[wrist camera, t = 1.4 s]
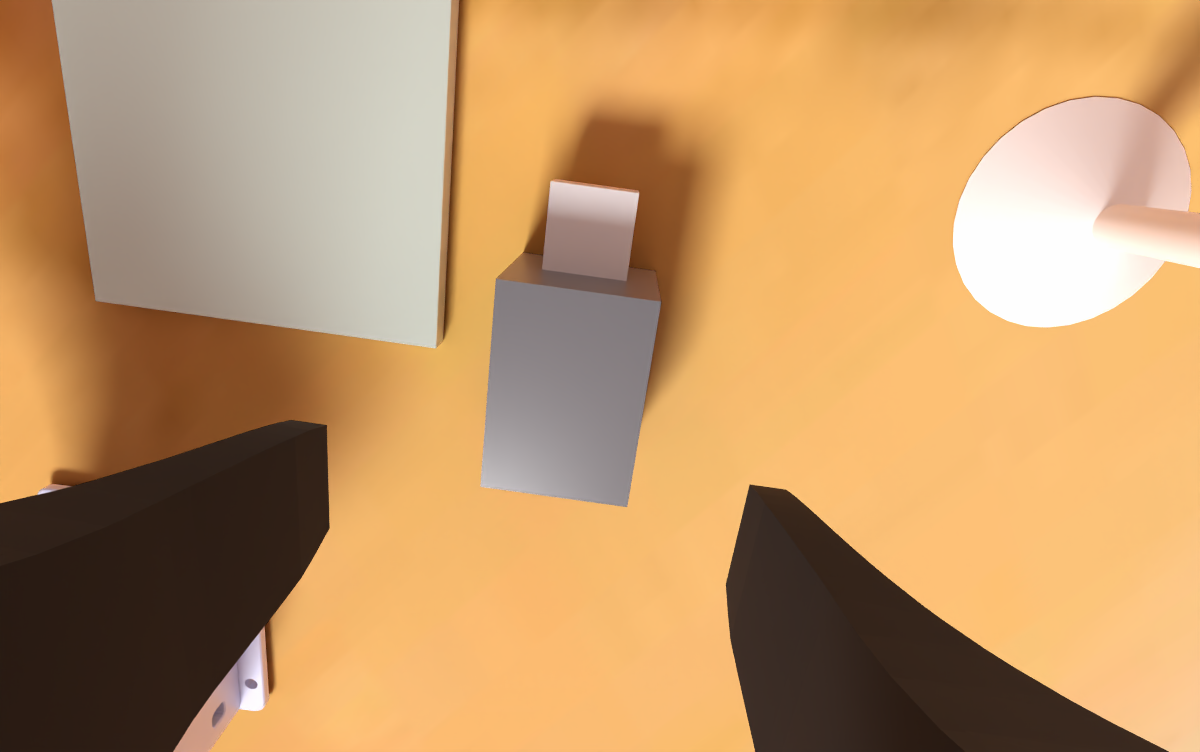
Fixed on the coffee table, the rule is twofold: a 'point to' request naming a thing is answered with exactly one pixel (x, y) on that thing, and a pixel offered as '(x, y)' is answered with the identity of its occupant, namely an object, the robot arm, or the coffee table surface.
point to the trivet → (267, 158)
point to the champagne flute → (1075, 212)
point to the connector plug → (572, 353)
